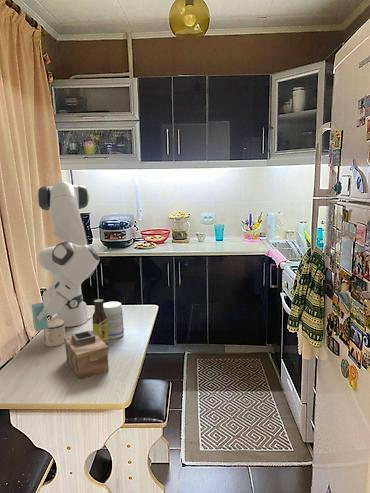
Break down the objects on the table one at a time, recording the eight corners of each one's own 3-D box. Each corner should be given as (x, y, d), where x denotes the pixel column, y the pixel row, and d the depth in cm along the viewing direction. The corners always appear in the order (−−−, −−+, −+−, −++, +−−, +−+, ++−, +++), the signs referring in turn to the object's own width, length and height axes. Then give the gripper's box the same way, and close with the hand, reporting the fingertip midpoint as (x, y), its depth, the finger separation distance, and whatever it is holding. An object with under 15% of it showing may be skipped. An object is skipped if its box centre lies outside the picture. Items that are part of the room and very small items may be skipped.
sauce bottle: (105, 348, 174) (102, 303, 171) (91, 347, 176) (88, 303, 172) (111, 342, 181) (108, 298, 177) (97, 341, 182) (94, 298, 178)
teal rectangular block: (34, 327, 146) (31, 304, 145) (45, 325, 148) (43, 302, 147) (36, 331, 143) (33, 307, 142) (48, 328, 145) (45, 305, 143)
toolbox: (65, 359, 165) (62, 332, 163) (94, 352, 171) (92, 326, 169) (79, 380, 149) (76, 350, 146) (110, 371, 154) (108, 342, 152)
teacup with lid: (50, 338, 187) (47, 313, 185) (69, 338, 186) (67, 313, 184) (38, 349, 176) (35, 323, 173) (58, 350, 174) (56, 323, 172)
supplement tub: (127, 335, 187) (125, 304, 184) (109, 341, 181) (107, 309, 179) (117, 329, 195) (115, 299, 192) (98, 335, 189) (96, 304, 186)
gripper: (55, 273, 155) (30, 302, 153) (58, 287, 136) (30, 320, 134) (68, 283, 157) (44, 312, 156) (74, 298, 138) (46, 331, 137)
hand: (37, 316), depth 145 cm, fingers closed on teal rectangular block, 4 cm apart
